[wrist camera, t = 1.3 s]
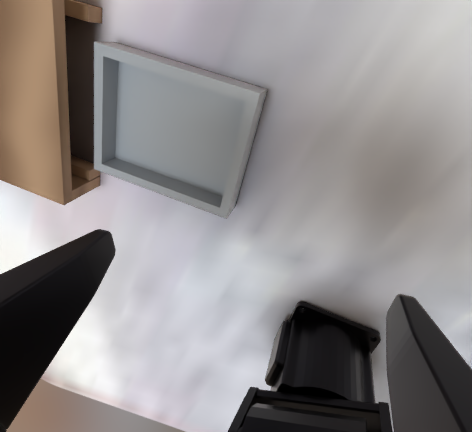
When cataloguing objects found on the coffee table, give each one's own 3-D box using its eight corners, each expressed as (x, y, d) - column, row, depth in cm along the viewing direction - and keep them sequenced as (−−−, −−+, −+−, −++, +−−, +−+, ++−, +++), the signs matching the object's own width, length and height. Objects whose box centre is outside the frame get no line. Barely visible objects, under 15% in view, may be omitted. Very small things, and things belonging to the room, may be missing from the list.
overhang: (102, -10, 18) (50, -23, 15) (99, 185, 25) (63, 205, 22) (-25, -46, 19) (-97, -66, 16) (6, 149, 26) (-42, 163, 23)
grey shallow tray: (267, 89, 18) (259, 93, 16) (235, 205, 22) (226, 218, 21) (115, 42, 19) (94, 41, 18) (111, 160, 24) (93, 169, 22)
